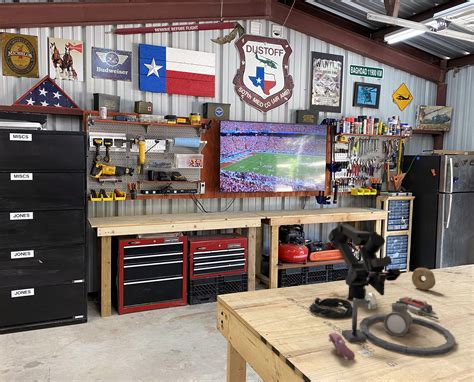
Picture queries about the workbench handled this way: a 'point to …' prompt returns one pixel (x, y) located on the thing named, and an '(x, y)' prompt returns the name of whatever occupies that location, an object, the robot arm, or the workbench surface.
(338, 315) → the cable
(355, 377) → the workbench surface
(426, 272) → the stone disc
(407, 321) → the pipe fitting
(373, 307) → the stand
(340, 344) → the purple elongated lump
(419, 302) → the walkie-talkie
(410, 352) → the ring
